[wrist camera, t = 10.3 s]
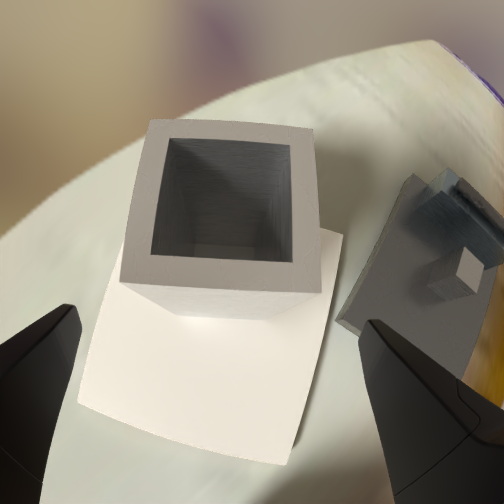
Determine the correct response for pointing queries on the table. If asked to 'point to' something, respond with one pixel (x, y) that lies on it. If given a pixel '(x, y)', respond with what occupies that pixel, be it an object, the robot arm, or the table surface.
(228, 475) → the table surface
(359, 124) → the table surface
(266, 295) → the square hollow tube
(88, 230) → the table surface
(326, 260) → the cutting board
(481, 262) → the grey piece
